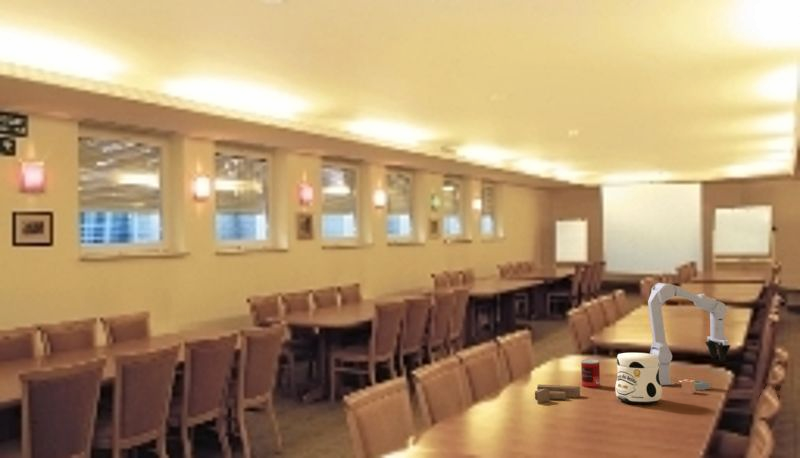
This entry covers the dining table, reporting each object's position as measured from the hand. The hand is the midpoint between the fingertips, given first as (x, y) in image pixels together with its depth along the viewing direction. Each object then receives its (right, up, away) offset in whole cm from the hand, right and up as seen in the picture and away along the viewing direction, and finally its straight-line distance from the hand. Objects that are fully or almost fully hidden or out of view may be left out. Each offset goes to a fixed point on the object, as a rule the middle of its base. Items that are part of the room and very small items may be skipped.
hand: (717, 359), depth 311 cm
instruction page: (-13, -10, -2) cm, 16 cm away
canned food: (-58, -11, -5) cm, 59 cm away
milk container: (-47, -11, -34) cm, 59 cm away
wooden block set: (-77, -11, -29) cm, 83 cm away
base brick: (-14, -10, -12) cm, 22 cm away
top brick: (-21, -10, -20) cm, 31 cm away
